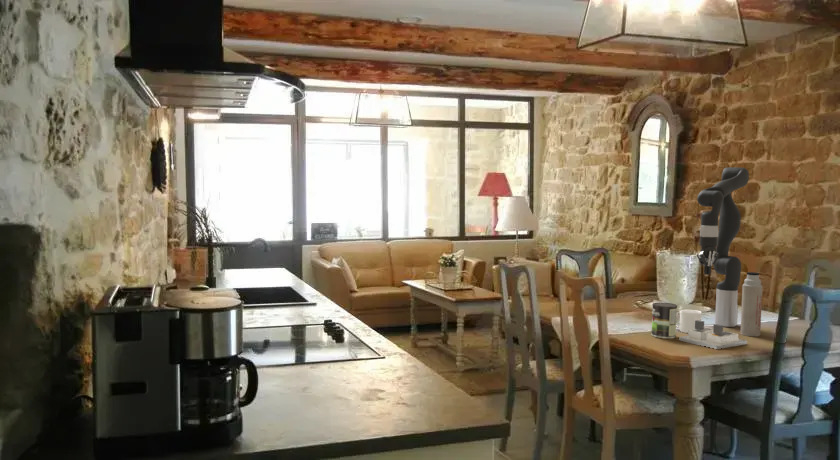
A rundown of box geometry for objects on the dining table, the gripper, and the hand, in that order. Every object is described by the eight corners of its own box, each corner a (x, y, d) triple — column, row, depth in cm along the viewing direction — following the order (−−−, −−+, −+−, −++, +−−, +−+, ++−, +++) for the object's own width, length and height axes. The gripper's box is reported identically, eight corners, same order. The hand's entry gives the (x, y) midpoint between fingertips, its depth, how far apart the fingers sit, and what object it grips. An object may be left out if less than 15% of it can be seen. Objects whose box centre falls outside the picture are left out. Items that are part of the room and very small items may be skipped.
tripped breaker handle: (716, 332, 280) (716, 324, 279) (722, 333, 277) (723, 325, 277) (713, 332, 279) (713, 324, 278) (719, 334, 276) (719, 325, 276)
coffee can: (657, 338, 289) (658, 306, 288) (647, 333, 299) (648, 302, 298) (680, 338, 290) (681, 306, 289) (669, 333, 300) (670, 302, 299)
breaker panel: (709, 335, 296) (709, 325, 296) (746, 344, 281) (747, 333, 280) (679, 340, 286) (679, 329, 286) (716, 349, 271) (716, 338, 270)
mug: (703, 331, 304) (704, 311, 304) (695, 334, 298) (696, 314, 297) (678, 327, 313) (678, 307, 312) (669, 330, 306) (670, 310, 306)
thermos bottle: (764, 335, 298) (767, 273, 296) (752, 337, 294) (755, 274, 293) (748, 331, 305) (750, 271, 303) (736, 333, 301) (739, 271, 300)
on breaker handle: (697, 328, 287) (698, 320, 287) (703, 329, 285) (704, 321, 284) (694, 328, 286) (695, 320, 286) (700, 330, 284) (701, 321, 283)
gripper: (711, 234, 303) (709, 272, 304) (691, 235, 296) (690, 274, 297) (725, 235, 296) (724, 274, 298) (706, 236, 290) (705, 276, 291)
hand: (707, 274), depth 298 cm, fingers closed
